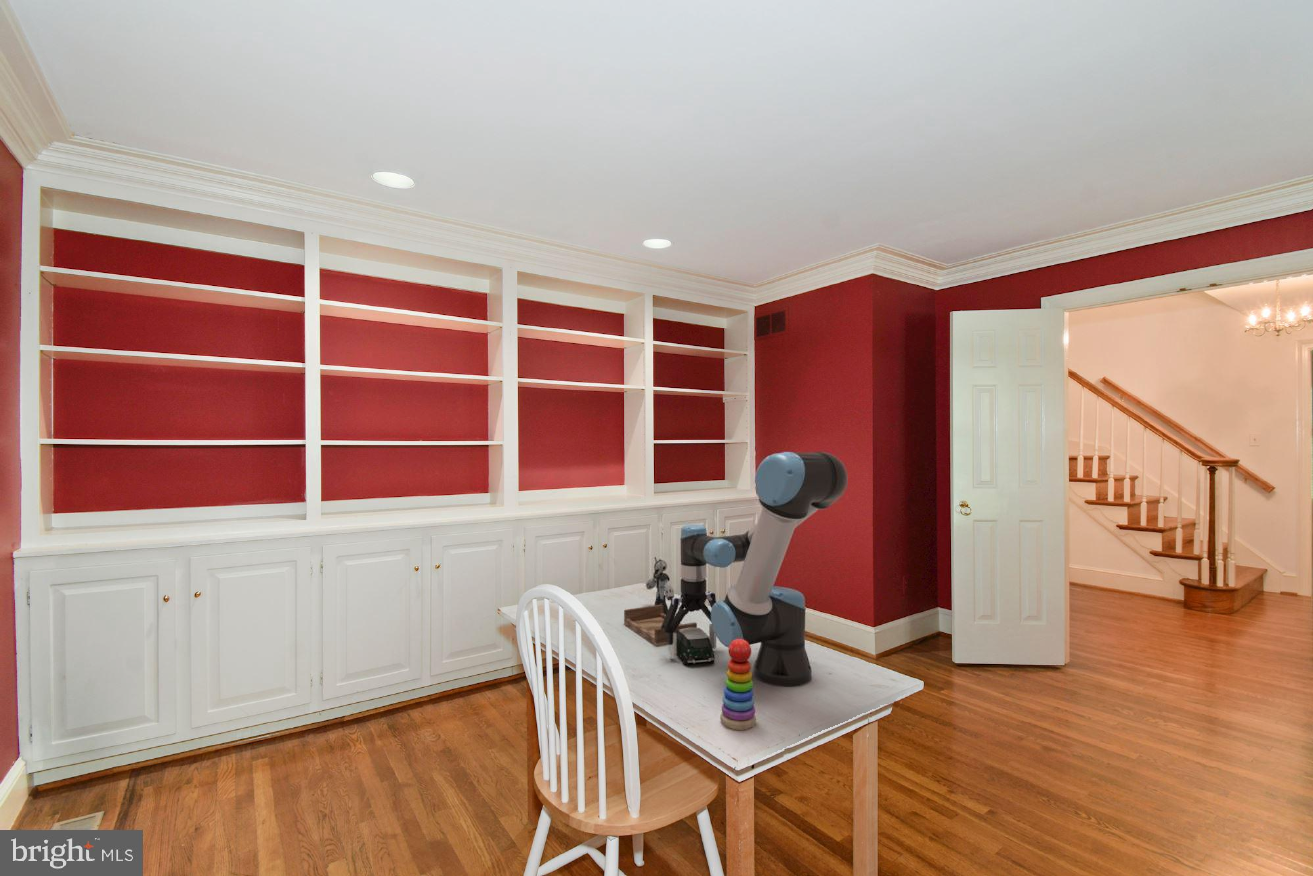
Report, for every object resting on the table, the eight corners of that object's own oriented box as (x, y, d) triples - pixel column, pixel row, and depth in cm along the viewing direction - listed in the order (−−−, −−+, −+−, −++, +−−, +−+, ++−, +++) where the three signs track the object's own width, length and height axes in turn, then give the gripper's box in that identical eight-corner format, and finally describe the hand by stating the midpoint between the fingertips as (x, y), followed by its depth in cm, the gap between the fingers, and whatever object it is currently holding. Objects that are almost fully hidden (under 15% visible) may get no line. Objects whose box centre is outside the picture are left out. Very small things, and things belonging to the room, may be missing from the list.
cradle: (696, 639, 186) (696, 623, 186) (656, 646, 179) (656, 630, 179) (661, 618, 207) (661, 604, 207) (624, 624, 200) (624, 609, 200)
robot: (678, 619, 206) (679, 562, 206) (666, 621, 204) (666, 563, 204) (654, 605, 223) (654, 552, 223) (642, 606, 221) (642, 553, 221)
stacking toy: (716, 727, 130) (716, 642, 130) (725, 711, 137) (725, 631, 137) (751, 734, 127) (752, 647, 127) (759, 717, 134) (759, 635, 134)
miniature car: (695, 644, 182) (695, 618, 182) (717, 666, 165) (717, 637, 165) (667, 647, 180) (667, 620, 180) (686, 669, 162) (687, 640, 162)
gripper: (721, 571, 181) (721, 640, 181) (649, 580, 170) (649, 654, 170) (736, 576, 175) (735, 648, 175) (661, 586, 163) (661, 663, 163)
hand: (693, 651), depth 172 cm, fingers open, 13 cm apart
